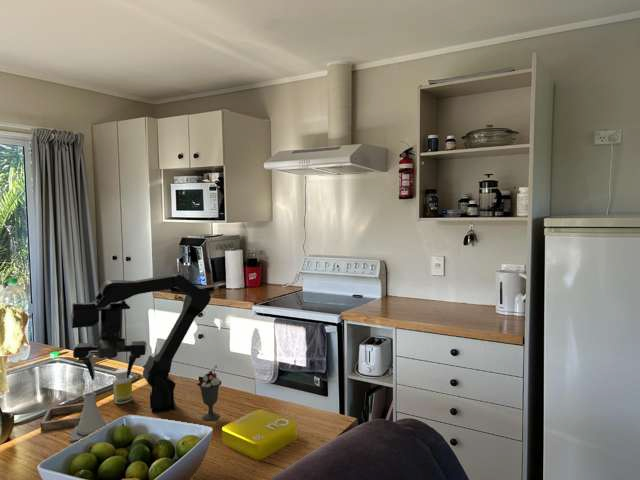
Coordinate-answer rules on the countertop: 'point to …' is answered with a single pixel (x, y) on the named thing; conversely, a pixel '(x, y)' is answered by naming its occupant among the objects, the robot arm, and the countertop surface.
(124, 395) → the supplement bottle
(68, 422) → the walnut well
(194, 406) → the countertop surface
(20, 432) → the countertop surface
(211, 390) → the sundae
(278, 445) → the element tile
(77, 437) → the rubber mat
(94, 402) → the flask
